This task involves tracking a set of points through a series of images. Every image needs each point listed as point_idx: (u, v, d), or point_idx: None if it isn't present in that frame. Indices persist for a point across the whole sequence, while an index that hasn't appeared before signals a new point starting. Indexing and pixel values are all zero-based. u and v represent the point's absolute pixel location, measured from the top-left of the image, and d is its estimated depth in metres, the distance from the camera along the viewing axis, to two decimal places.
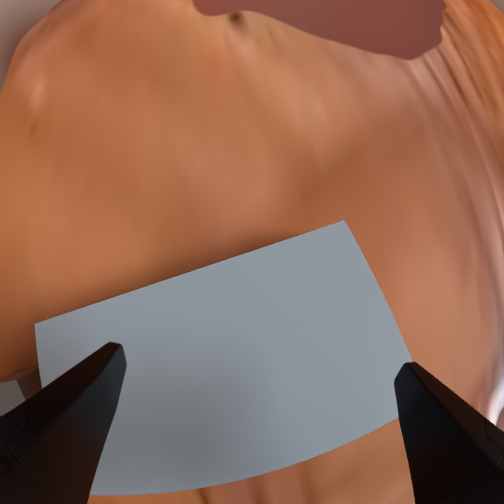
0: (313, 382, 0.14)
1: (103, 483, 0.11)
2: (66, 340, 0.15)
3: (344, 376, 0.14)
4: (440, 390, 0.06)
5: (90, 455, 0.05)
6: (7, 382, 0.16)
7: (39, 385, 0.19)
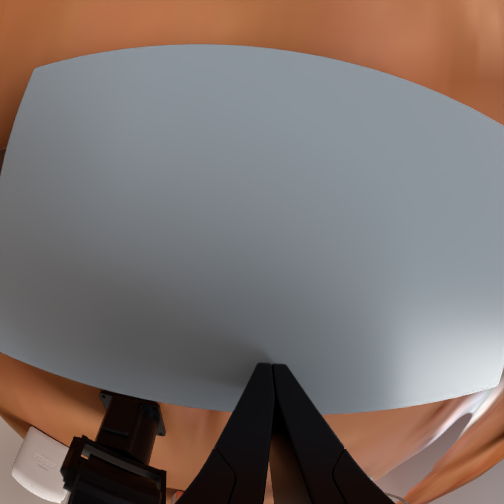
0: (434, 303, 0.08)
1: (43, 349, 0.08)
2: (71, 92, 0.08)
3: (463, 314, 0.08)
4: (296, 402, 0.06)
5: None
6: None
7: None
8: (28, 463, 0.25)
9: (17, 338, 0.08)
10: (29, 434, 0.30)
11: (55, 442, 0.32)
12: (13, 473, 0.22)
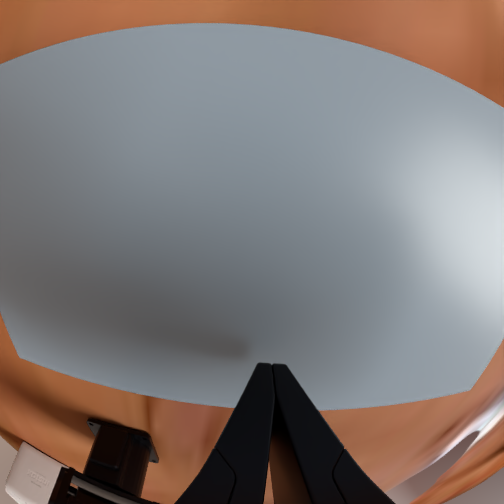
0: (423, 336, 0.09)
1: (62, 361, 0.09)
2: (17, 112, 0.06)
3: (450, 342, 0.09)
4: (296, 402, 0.06)
5: None
6: None
7: None
8: (21, 480, 0.22)
9: (37, 352, 0.09)
10: (21, 450, 0.27)
11: (48, 458, 0.29)
12: (6, 489, 0.19)
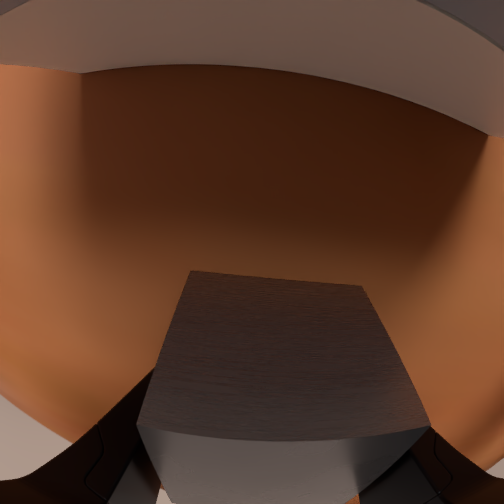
0: None
1: None
2: None
3: None
4: None
5: None
6: (155, 459, 0.04)
7: (237, 326, 0.06)
8: None
9: None
10: None
11: None
12: None
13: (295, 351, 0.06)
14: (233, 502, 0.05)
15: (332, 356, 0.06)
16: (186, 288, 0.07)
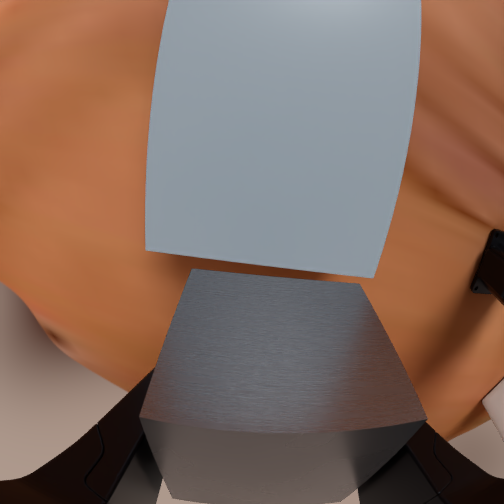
0: None
1: (375, 221, 0.14)
2: (182, 197, 0.13)
3: None
4: None
5: (157, 474, 0.05)
6: (156, 453, 0.04)
7: (237, 322, 0.06)
8: None
9: (367, 247, 0.14)
10: (487, 406, 0.30)
11: None
12: None
13: (294, 346, 0.06)
14: (233, 497, 0.06)
15: (330, 351, 0.06)
16: (188, 285, 0.07)
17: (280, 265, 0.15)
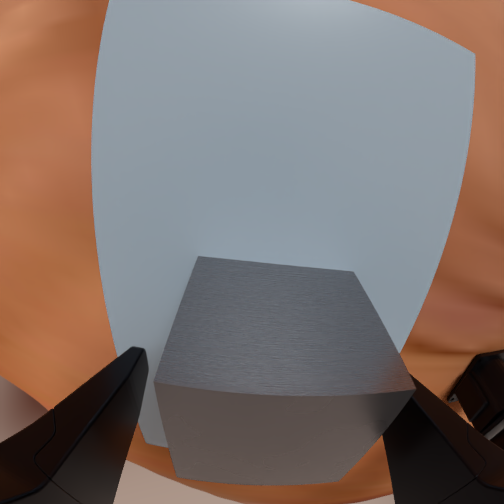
0: (360, 179, 0.08)
1: None
2: None
3: (381, 129, 0.07)
4: (421, 393, 0.06)
5: (115, 463, 0.05)
6: (166, 422, 0.05)
7: (241, 301, 0.07)
8: None
9: None
10: None
11: None
12: None
13: (293, 322, 0.07)
14: (236, 473, 0.06)
15: (326, 327, 0.06)
16: (195, 270, 0.08)
17: None
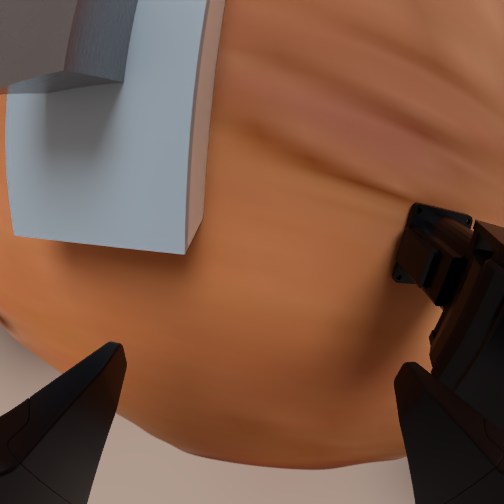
0: None
1: (168, 193, 0.13)
2: (25, 190, 0.13)
3: None
4: (440, 390, 0.06)
5: (90, 455, 0.05)
6: None
7: None
8: None
9: (167, 221, 0.14)
10: None
11: None
12: None
13: None
14: (5, 62, 0.06)
15: None
16: None
17: (95, 243, 0.14)
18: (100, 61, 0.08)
